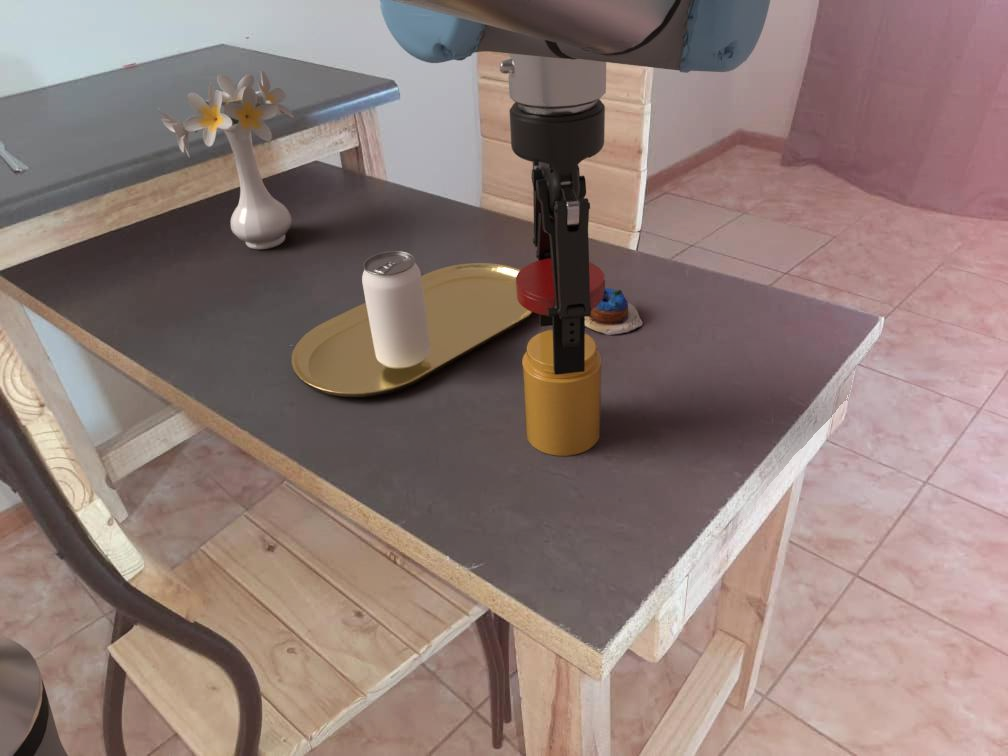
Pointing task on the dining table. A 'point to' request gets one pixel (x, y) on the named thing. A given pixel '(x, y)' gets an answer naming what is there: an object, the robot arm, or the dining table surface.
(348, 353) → the serving platter
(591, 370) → the jar
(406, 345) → the can
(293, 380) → the dining table surface
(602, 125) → the robot arm
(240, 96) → the flower vase
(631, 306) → the dessert
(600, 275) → the jar lid
